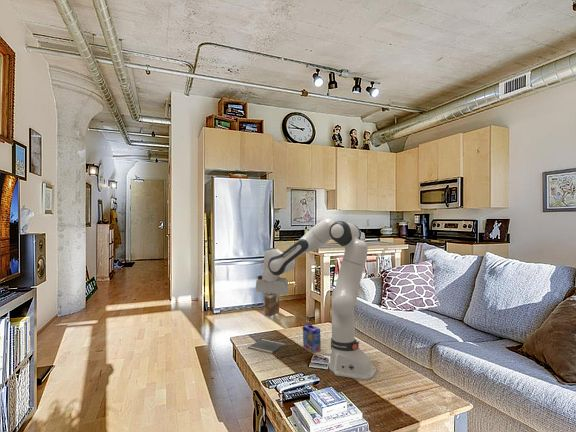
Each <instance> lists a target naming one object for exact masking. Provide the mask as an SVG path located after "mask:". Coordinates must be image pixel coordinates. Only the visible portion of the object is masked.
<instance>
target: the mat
mask: <svg viewBox="0 0 576 432" xmlns="http://www.w3.org/2000/svg"><path fill="white" fill-rule="evenodd" d="M284 346H285V343H282V342H278V341H273V340H269V339H264V338H261V339H260V340H258V341H256V342H254V343H252V344H251V345H249V346H247V349H248V350H252V351H253V350H254V351H257V352H261V353H266V354H270V355H272V354H274V353H275V352H277V351H279V350H280V349H281V348H282V347H284Z"/></svg>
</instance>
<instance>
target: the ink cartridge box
mask: <svg viewBox="0 0 576 432" xmlns="http://www.w3.org/2000/svg"><path fill="white" fill-rule="evenodd" d="M321 341H322V340H321V328H319V327H317V326H314V325H312V324H311V323H309V322H307V324H305V325H303V326H302V344H303V345H302V346H303V348H305V349H307V350H309V351H310V352H311V353H317V352H319V351H322V348H321V345H322V343H321Z"/></svg>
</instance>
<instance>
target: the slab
mask: <svg viewBox="0 0 576 432" xmlns="http://www.w3.org/2000/svg"><path fill="white" fill-rule="evenodd" d="M275 298H276V294H272V293H268V294H267V295H264V316H266V317H272V316H274V315H276V314H280V297H279V298H278V302H274V299H275Z"/></svg>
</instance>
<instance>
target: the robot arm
mask: <svg viewBox="0 0 576 432" xmlns="http://www.w3.org/2000/svg"><path fill="white" fill-rule="evenodd" d="M361 237H362V231H361V229H360V228H359V227H358V226H357V225H356V224H353V223H351V222H348V221H343V220H337V221H335V220H334V219H332V218H331V217H330V218H328V217H326V218H324V219H322V220H321V221H319V222H318V223H316V224H314V225H313V226H312V227H311V228H310V229H309V230H307V231H306V233H304V235H303V236H301V237H300V239H298V240H297V241H296V242H294V244H293V245H291V246H290V247H288V249H286V250H285V251H284V252H283V251H281V250H280V249H279V248H278V247H273V248H270V249H269V248H267V249H266V250H265V251H264V255H263V265H264V266H263V267H264V270H263V272H264V273H261V274H259V275H257V276H256V281H255V290H256V292H257V293H264V296H265V295H267V294H270V293H272V294H276V298H275V299H274V302H278V298H279V299H280V295H282V296H286V295H288V294H289V293H290V292H289V291H290V290H289V281H288V279H287V278H286V277H280V275H283V274H284V273H288V272H290V271H292V270H294V269H295V267H296V260H295V259H297V258H298V257H300V256H301V255H304V254H305V253H309V252H313V251H316V250H318V249H320V248H321V247H323V246H325V245H326V244H327V243H328V242H330V241H331V240H333V241H334V242H336V243H337V244H338V245H340V246H341V247H344V254H343V256H342V260H341V263H340V267H339V270H338V273H337V274H338V275H337V279H336V283H335V287H334V289H333V290H332V293H331V338H330V349H331V351H330V352H331V353H330V354H331V355H330V360H329V365H328V369H329V370H330V371H331V372H332V373H333V375H335V376H338V377H345V378H351V379H357V380H359V379H360V380H365V381H366V380H367V381H368V380H371V379H372V378H373V377H375V376H376V374H377V373H376V372H377V368H376V366H374V365H372V362H371V358H370V356H369V355H368V354H367V353H365V352H364V351H363V350H362V349H361V348H360V347H359V345H360V340H358V341H357V340H356V337H355V335H356V334H355V332H356V331H355V327H356V326H355V307H356V304H357V298H358V294H359V290H360V284H361V281H362V280H361V279H362V278H363V272H364V271H365V266H366V261H367V256H368V251H369V250H368V249H369V248H368V244H367V243H366V241H363V240H362V239H361Z"/></svg>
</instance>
